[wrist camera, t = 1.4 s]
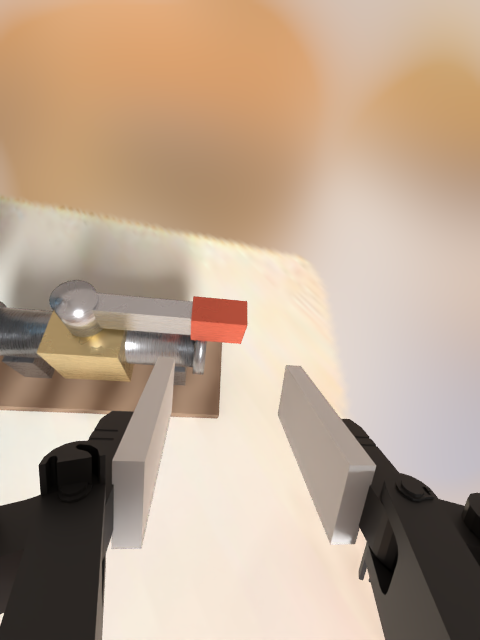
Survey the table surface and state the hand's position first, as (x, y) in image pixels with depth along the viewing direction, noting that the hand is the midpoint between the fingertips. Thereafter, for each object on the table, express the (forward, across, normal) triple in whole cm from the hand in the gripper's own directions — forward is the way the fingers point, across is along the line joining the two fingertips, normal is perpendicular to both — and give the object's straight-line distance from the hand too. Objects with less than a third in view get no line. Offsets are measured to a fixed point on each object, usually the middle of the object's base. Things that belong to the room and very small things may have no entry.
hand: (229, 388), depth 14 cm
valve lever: (+16, -6, -2) cm, 17 cm away
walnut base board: (+25, -12, -11) cm, 30 cm away
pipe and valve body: (+23, -13, -10) cm, 28 cm away
